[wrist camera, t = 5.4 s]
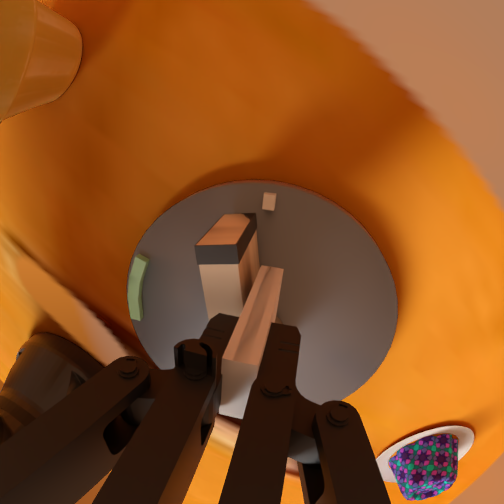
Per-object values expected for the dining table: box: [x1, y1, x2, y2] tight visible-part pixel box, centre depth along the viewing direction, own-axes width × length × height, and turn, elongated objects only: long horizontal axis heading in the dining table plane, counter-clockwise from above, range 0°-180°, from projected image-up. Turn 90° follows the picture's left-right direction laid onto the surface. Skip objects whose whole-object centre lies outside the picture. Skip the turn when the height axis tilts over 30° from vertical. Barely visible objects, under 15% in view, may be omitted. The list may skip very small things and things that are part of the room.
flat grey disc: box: [127, 179, 398, 405], centre depth 20 cm, size 18×18×2 cm
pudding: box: [376, 426, 474, 500], centre depth 23 cm, size 12×12×5 cm
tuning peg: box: [194, 213, 283, 324], centre depth 16 cm, size 10×4×5 cm, turn 5°
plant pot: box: [0, 0, 82, 123], centre depth 12 cm, size 10×10×10 cm
